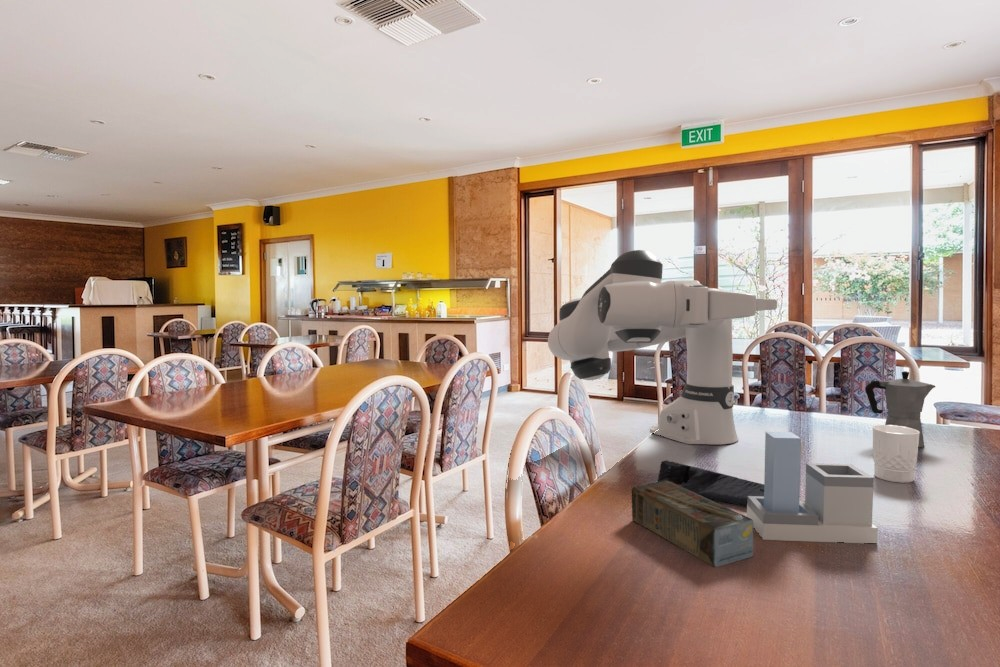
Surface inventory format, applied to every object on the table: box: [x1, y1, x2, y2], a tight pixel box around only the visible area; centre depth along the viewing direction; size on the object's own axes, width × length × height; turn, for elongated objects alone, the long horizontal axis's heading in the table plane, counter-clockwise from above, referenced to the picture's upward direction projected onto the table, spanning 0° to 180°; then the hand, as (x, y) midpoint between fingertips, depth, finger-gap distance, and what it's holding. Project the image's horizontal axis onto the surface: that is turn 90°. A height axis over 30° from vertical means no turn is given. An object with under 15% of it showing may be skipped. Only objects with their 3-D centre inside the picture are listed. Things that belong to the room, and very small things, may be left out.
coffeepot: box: [864, 371, 936, 448], centre depth 144 cm, size 15×9×18 cm, turn 79°
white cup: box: [872, 424, 920, 484], centre depth 118 cm, size 8×8×10 cm
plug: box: [763, 431, 803, 513], centre depth 93 cm, size 5×4×13 cm
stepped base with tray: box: [746, 462, 879, 544], centre depth 93 cm, size 16×8×10 cm, turn 83°
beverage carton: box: [631, 480, 754, 568], centre depth 91 cm, size 8×19×7 cm, turn 24°
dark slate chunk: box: [655, 459, 764, 507], centre depth 113 cm, size 15×22×5 cm
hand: (766, 303), depth 106 cm, fingers open, 8 cm apart
